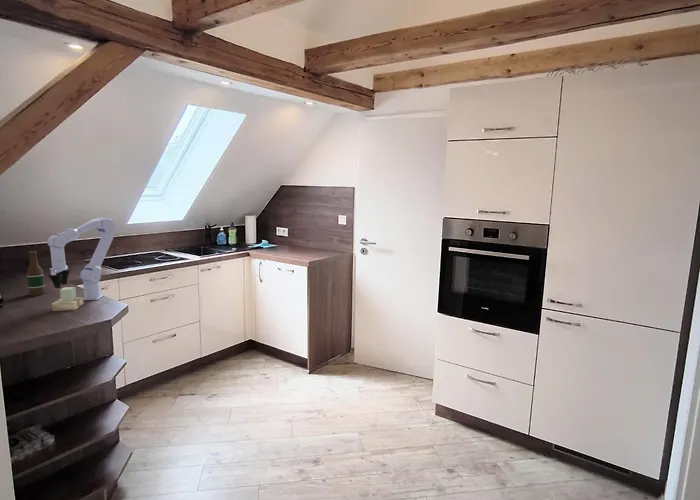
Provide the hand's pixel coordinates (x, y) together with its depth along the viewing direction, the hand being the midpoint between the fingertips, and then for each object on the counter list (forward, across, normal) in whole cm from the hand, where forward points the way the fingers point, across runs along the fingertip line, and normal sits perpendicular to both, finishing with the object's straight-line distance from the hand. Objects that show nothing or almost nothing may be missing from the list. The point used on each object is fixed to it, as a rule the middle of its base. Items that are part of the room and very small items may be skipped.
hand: (61, 286), depth 218 cm
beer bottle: (+10, -25, -22) cm, 35 cm away
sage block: (+6, +4, +4) cm, 9 cm away
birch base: (+10, +4, +4) cm, 12 cm away
